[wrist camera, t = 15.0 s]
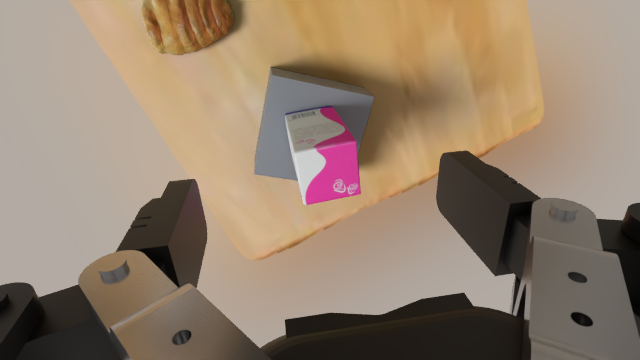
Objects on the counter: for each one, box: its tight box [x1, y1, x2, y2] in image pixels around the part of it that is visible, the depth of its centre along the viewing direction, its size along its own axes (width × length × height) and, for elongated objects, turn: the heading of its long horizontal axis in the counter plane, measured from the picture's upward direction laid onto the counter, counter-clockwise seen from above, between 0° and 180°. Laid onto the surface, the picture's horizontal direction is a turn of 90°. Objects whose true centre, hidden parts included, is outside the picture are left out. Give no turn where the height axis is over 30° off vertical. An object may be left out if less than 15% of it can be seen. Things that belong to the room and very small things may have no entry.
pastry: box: [140, 0, 234, 55], centre depth 40 cm, size 9×7×4 cm
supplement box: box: [285, 106, 361, 205], centre depth 38 cm, size 6×6×12 cm
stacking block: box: [254, 67, 375, 181], centre depth 46 cm, size 12×12×6 cm
